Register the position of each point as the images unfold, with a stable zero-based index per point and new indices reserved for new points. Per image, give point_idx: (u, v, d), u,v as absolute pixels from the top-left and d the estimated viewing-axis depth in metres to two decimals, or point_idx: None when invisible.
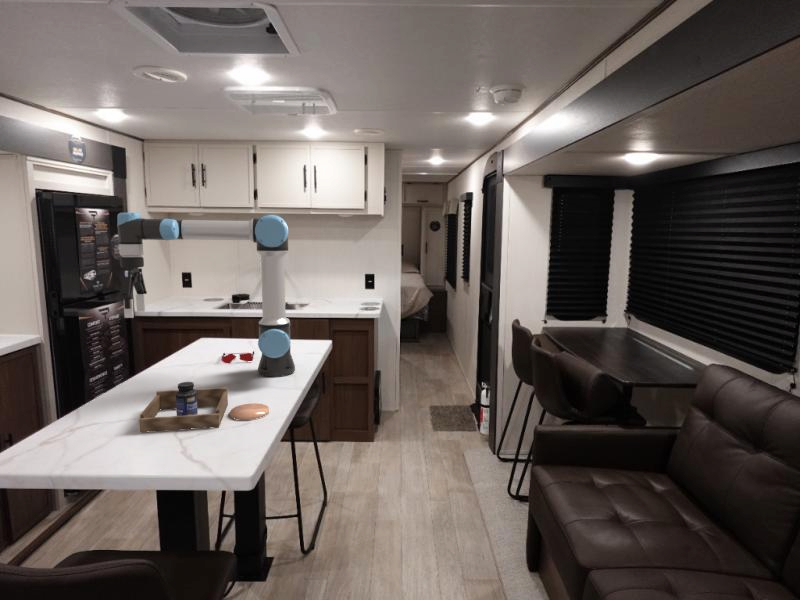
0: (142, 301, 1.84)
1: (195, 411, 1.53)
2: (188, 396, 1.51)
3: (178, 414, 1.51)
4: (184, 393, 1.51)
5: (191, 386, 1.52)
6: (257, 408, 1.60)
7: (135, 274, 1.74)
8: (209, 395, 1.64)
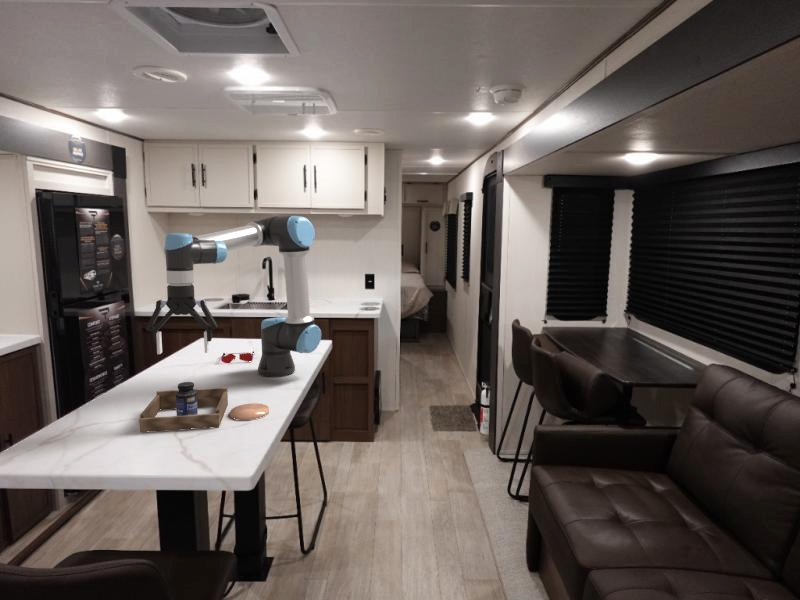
0: None
1: (195, 411, 1.53)
2: (188, 396, 1.51)
3: (178, 414, 1.51)
4: (184, 393, 1.51)
5: (191, 386, 1.52)
6: (257, 408, 1.60)
7: (173, 305, 1.47)
8: (209, 395, 1.64)
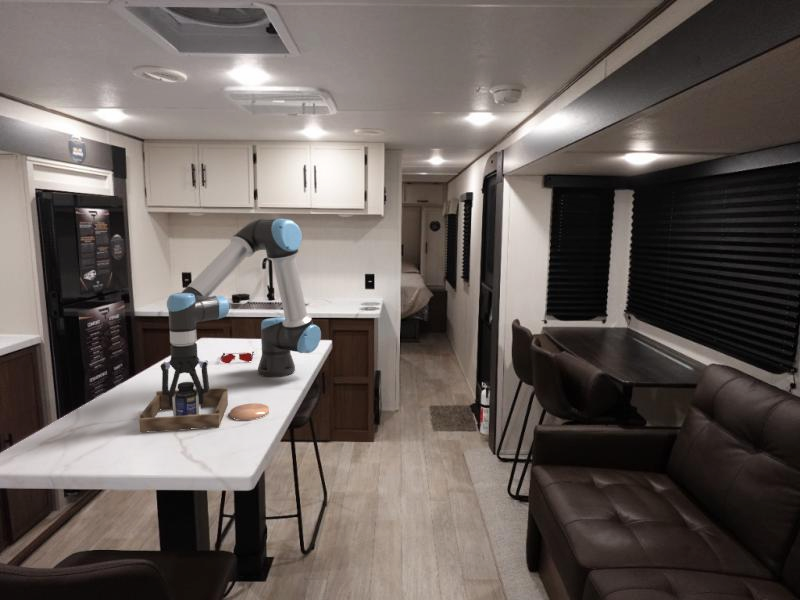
0: (196, 403, 1.53)
1: (195, 411, 1.53)
2: (188, 396, 1.51)
3: (178, 414, 1.51)
4: (184, 393, 1.51)
5: (191, 386, 1.52)
6: (257, 408, 1.60)
7: (176, 365, 1.50)
8: (209, 395, 1.64)
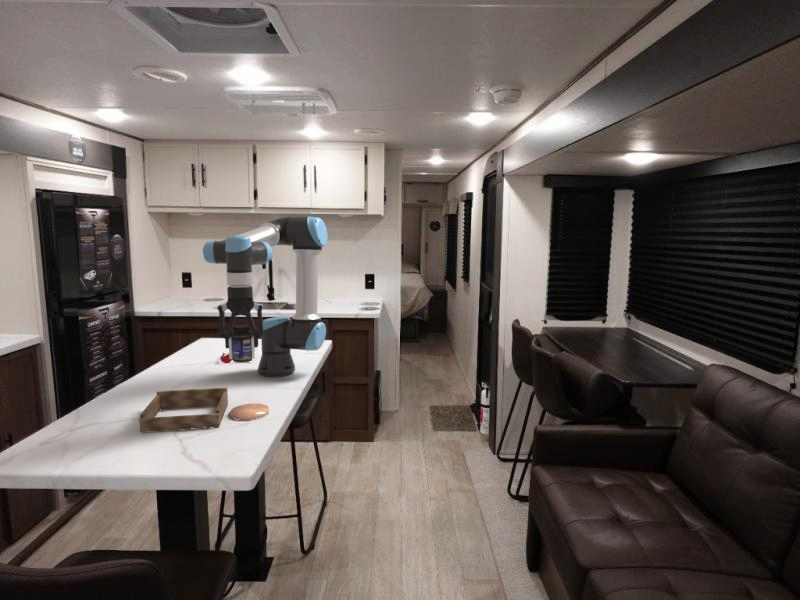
0: None
1: (250, 354, 1.55)
2: (244, 338, 1.52)
3: (234, 356, 1.53)
4: (240, 335, 1.52)
5: (247, 328, 1.53)
6: (257, 408, 1.60)
7: (233, 307, 1.51)
8: (209, 395, 1.64)
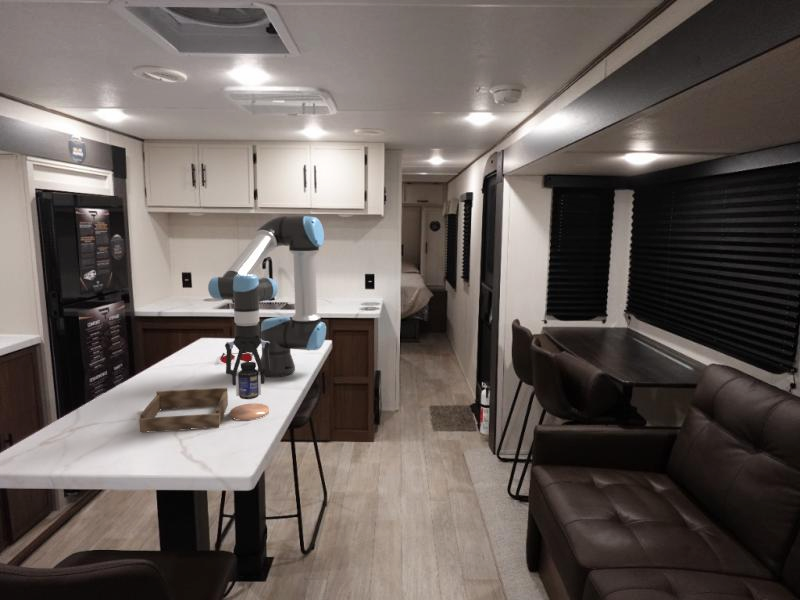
0: (258, 382, 1.57)
1: (257, 390, 1.56)
2: (251, 375, 1.54)
3: (241, 393, 1.54)
4: (247, 372, 1.54)
5: (254, 365, 1.55)
6: (257, 408, 1.60)
7: (240, 345, 1.53)
8: (209, 395, 1.64)
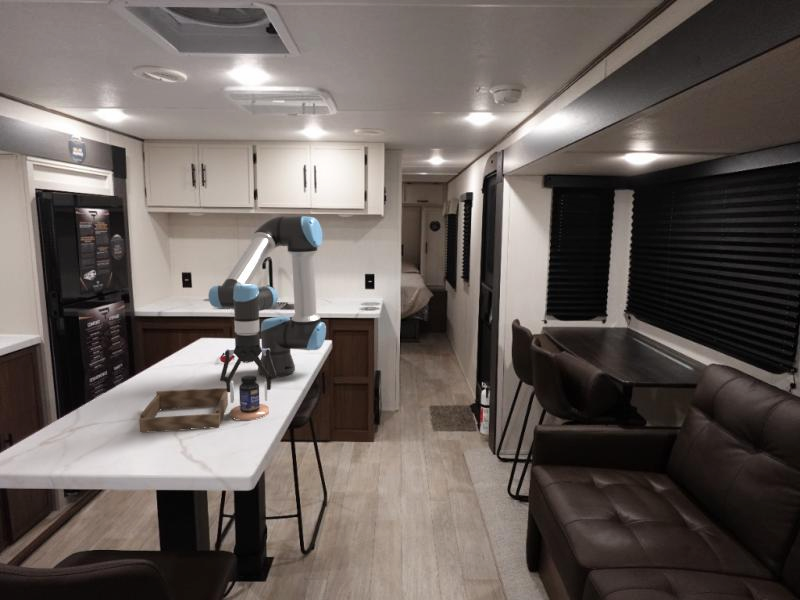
0: None
1: (258, 403, 1.57)
2: (252, 389, 1.55)
3: (242, 406, 1.55)
4: (248, 386, 1.55)
5: (254, 379, 1.56)
6: None
7: (240, 354, 1.54)
8: (209, 395, 1.64)
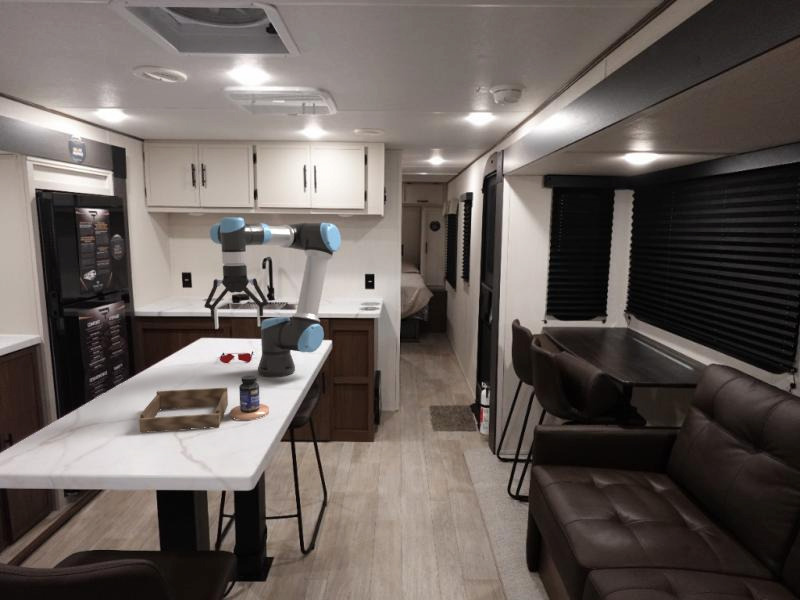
0: (257, 315, 1.65)
1: (258, 403, 1.57)
2: (252, 389, 1.55)
3: (242, 406, 1.55)
4: (248, 386, 1.55)
5: (254, 379, 1.56)
6: None
7: (228, 284, 1.61)
8: (209, 395, 1.64)
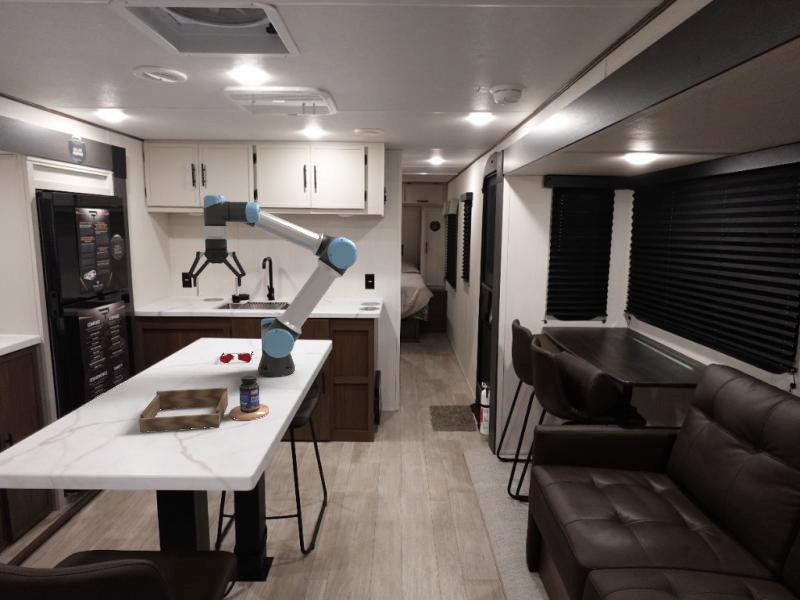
0: None
1: (258, 403, 1.57)
2: (252, 389, 1.55)
3: (242, 406, 1.55)
4: (248, 386, 1.55)
5: (254, 379, 1.56)
6: None
7: (210, 255, 1.78)
8: (209, 395, 1.64)
